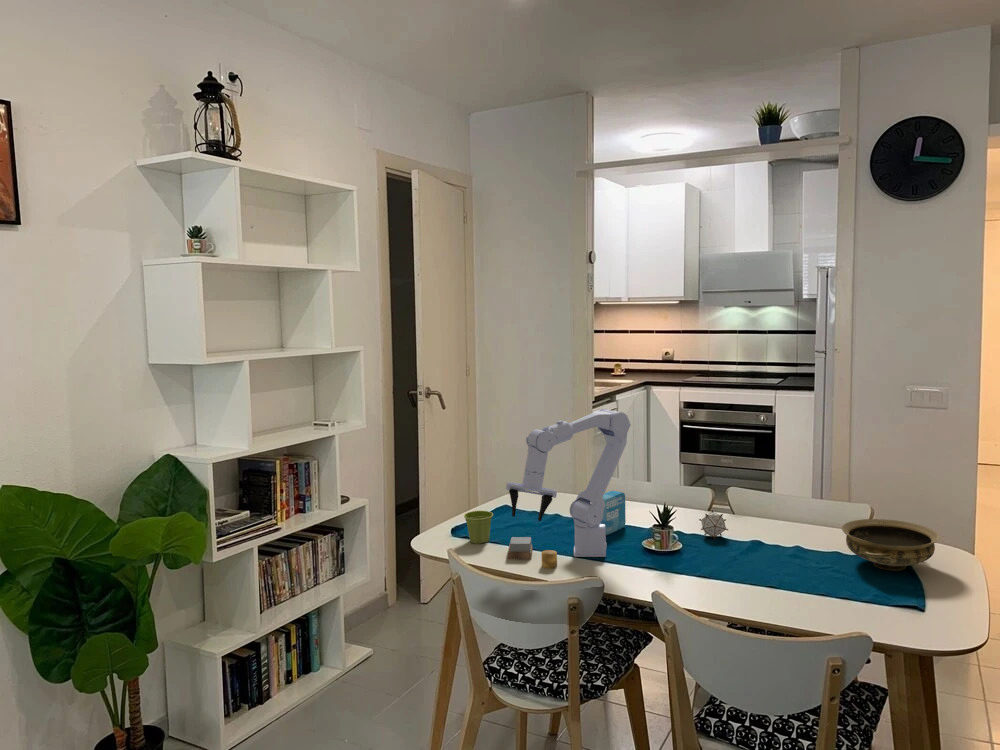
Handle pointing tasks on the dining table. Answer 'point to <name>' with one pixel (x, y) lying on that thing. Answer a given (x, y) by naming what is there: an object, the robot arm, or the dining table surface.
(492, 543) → the dining table surface
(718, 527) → the grey spiked ball
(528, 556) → the walnut base block
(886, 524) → the ceramic bowl
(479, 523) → the plant pot
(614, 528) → the data package
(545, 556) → the golden brown cylinder
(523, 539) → the grey painted block
